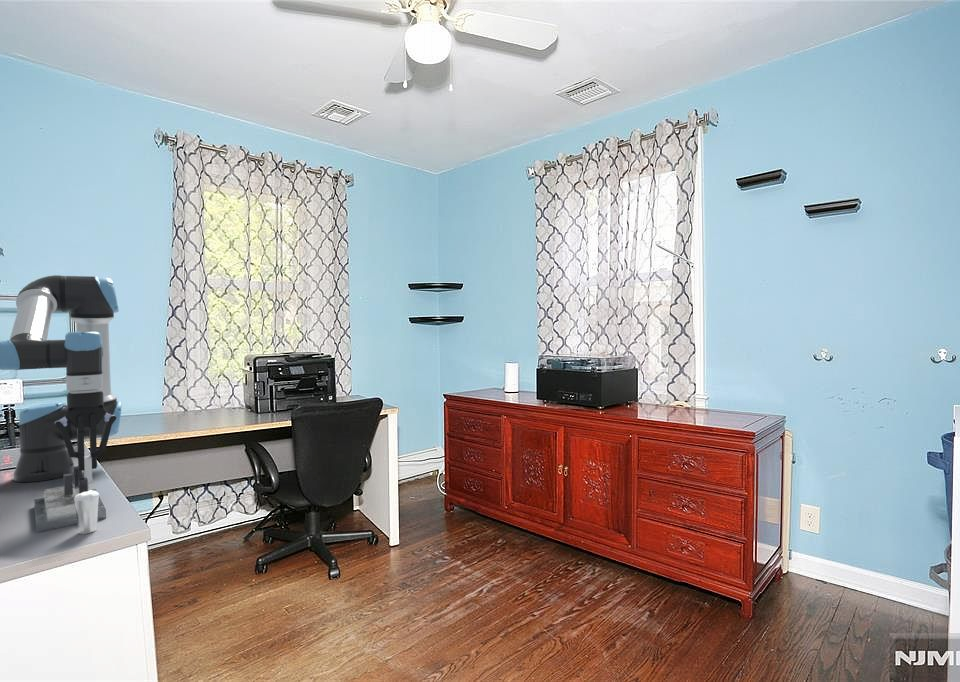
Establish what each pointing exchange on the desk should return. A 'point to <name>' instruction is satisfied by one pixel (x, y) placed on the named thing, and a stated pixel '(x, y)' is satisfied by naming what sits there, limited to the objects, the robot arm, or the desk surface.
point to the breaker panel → (61, 520)
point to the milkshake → (86, 511)
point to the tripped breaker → (68, 484)
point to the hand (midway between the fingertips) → (88, 482)
